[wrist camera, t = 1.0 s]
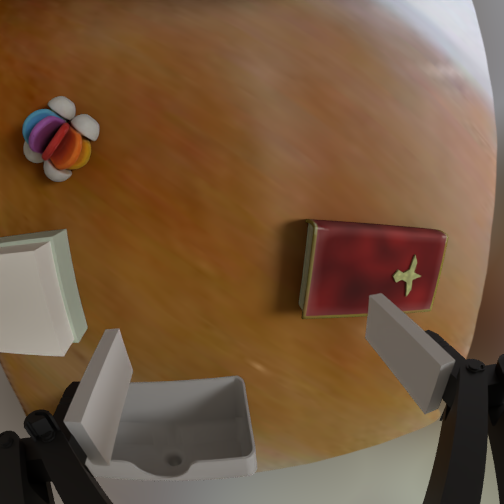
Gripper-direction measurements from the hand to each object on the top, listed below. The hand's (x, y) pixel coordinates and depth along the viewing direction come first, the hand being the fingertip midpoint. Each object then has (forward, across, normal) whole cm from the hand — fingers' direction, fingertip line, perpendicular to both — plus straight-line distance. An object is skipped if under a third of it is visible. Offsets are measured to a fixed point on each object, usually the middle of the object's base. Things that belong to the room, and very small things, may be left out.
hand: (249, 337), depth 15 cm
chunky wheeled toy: (+24, -18, +14) cm, 33 cm away
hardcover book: (+24, +19, -7) cm, 32 cm away
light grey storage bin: (+23, -13, -29) cm, 39 cm away
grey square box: (+23, -28, -4) cm, 36 cm away
